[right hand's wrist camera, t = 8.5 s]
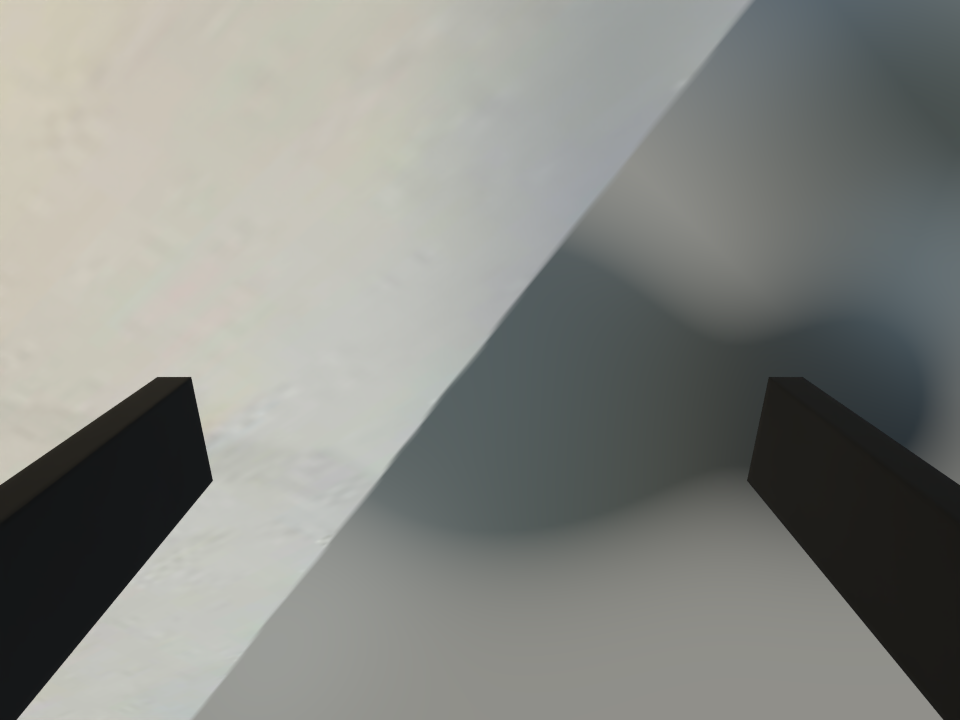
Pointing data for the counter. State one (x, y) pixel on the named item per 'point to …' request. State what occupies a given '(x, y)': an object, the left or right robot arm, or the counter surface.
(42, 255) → the counter surface
